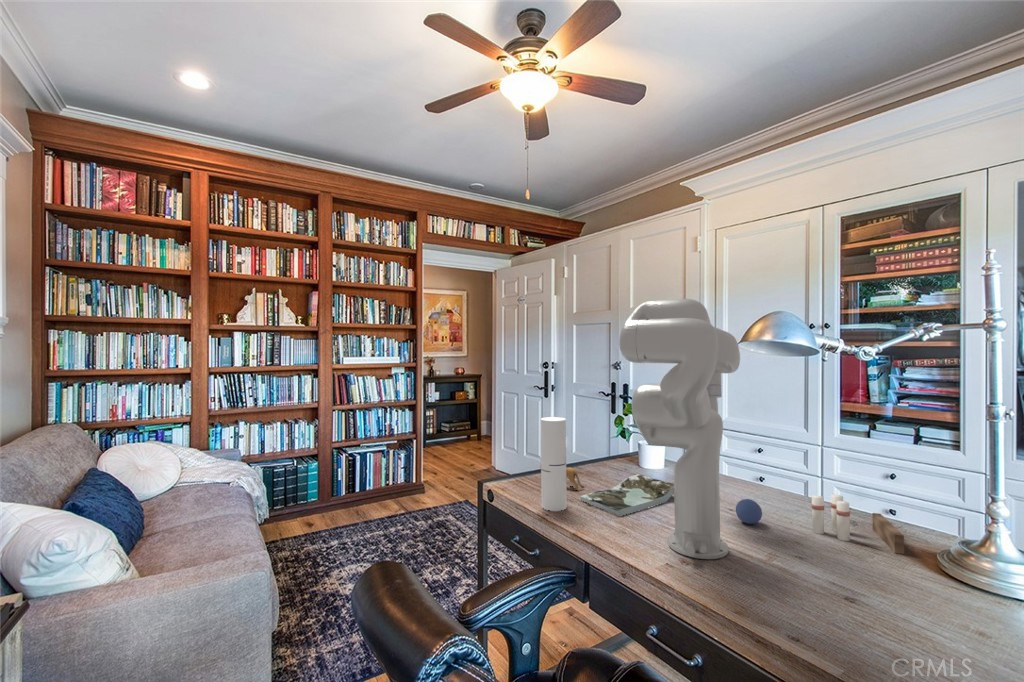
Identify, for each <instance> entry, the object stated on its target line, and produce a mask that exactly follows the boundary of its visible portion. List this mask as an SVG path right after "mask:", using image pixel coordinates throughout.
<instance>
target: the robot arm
mask: <svg viewBox="0 0 1024 682" xmlns="http://www.w3.org/2000/svg"><path fill="white" fill-rule="evenodd" d="M618 345H619V350H620V352H621V355H622V356H623V358H624V359H625V360H627V361H629V362H630V363H635V364H676V365H674V366H673V367H672V368H671V369H669V371H667V373H665V374H664V376H663V377H662V379H661V381H660V383H644V384H640V385H639V386H638V387H637V388H636V389H635V390H634V392H633V394H632V398H631V414H632V418H633V420H634V423H635V425H636V426H637V428H638V430H639V432H640V434H641V436H642V437H643V439H644V440H645V442H646V443H648V444H649V445H653V446H658V447H668V448H677V449H678V448H679V449H683V450H686V451H685V452H684V454H682V455H681V456H680V457H679V458H678V459H677V460H676V462H675V465H674V468H673V484H674V494H673V495H674V496H673V497H674V498H673V499H674V501H673V503H674V532H672V533H670V535H668V537H667V544H668V546H669V548H671V550H673V551H674V552H676V553H679V554H680V555H682V556H685V557H689V558H693V559H701V560H717V559H722V558H725V557H726V555H728V553H729V546H728V544H727V543H726V541H725V540H723V539H722V538H721V499H720V498H721V496H720V459H721V458H720V456H721V455H720V454H721V447H722V438H723V432H724V421H723V418H722V416H721V415H720V414H719V404H718V403H719V402H718V398H722V391H723V390H722V387H723V386H722V374H732V373H735V372H736V371H737V370H738V369H739V367H740V363H741V353H740V348H739V344H738V341H737V339H736V337H735V336H734V335H733V334H732V333H730V332H728V331H726V330H723V329H720V328H719V327H715V326H713V325H712V323H711V320H710V317H709V313H708V310H707V308H706V307H705V305H704V304H703V303H702V302H700V301H698V300H695V299H692V298H675V299H674V298H672V299H659V300H658V299H657V300H647V301H645V302H642V303H640V304H639V305H638V306H637V307H636V308H635V309H634V310H633V311H632V312H631V314H630V315H629V317H628V318H627V319H626V321H625V322H624V323H623V325H622V328H621V330H620V333H619V343H618Z"/></svg>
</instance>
